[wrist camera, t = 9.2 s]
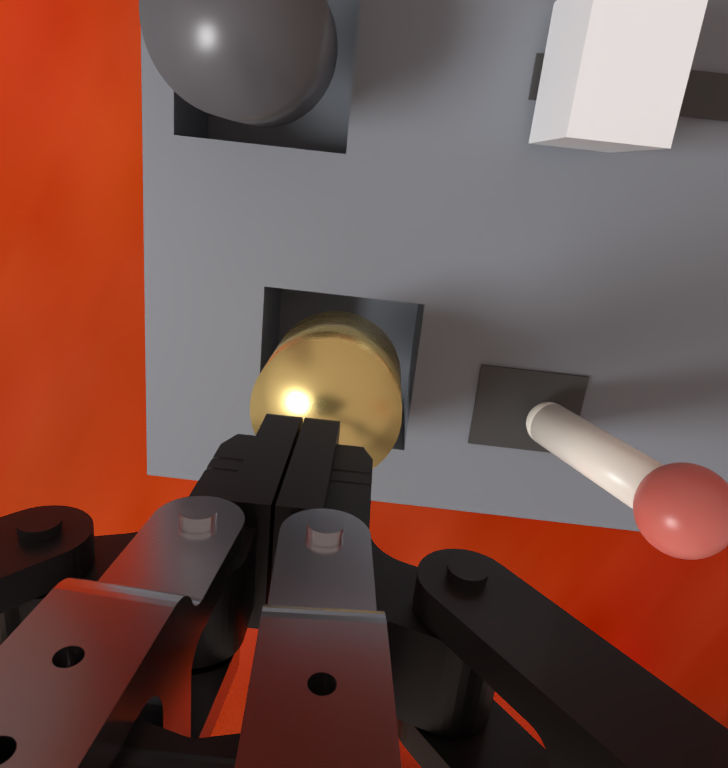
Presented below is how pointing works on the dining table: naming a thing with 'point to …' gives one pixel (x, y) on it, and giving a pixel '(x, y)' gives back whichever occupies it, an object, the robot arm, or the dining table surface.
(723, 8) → the panel
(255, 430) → the button brass
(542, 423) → the toggle lever
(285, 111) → the button dark gray
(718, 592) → the dining table surface
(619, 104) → the matte white cuboid
